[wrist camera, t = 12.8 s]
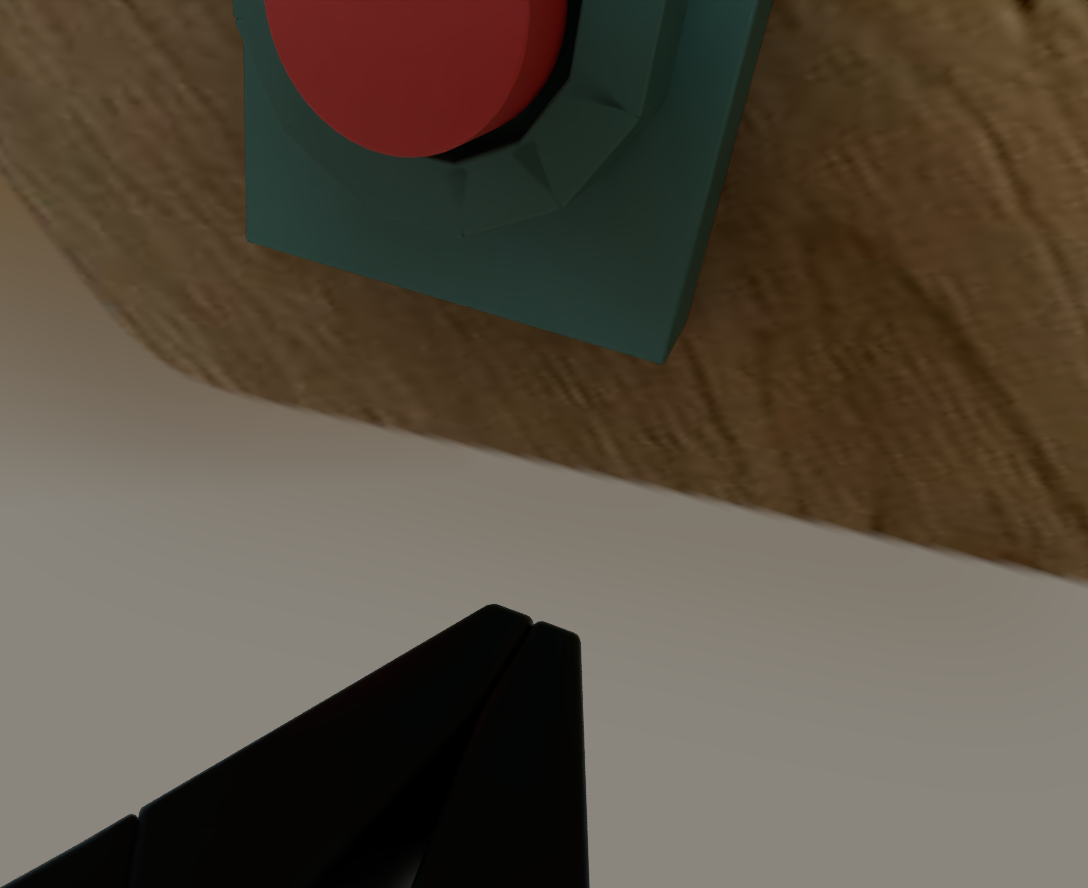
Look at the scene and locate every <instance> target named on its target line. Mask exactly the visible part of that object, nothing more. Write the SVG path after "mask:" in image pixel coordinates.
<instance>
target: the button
mask: <svg viewBox="0 0 1088 888" xmlns="http://www.w3.org/2000/svg"><path fill="white" fill-rule="evenodd" d="M264 2H265V9H266V15H267V20H268V24H269V28H270V32H271V36H272V39H273V42H274V44H275V47H276V50H277V52H278V55H279V58H280V60H281V62H282V64H283V66H284V68H285V70H286V72H287V74H288V76H289V77H290V79H291V81H292V82H293V84H294V86H295V87H296V89H297V91H298V92H299V93H300V95H301V96H302V97H303V98H304V100H305V101H306V102H307V104H308V105H309V106H310V107H311V108H312V109H313V110H314V112H315V113H316V114H317V115H318V116H319V117H320V118H321V119H322V120H323V121H325V122H326V123H327V124H328V125H329V126H330V127H332V128H333V129H334V130H335V131H337V132H338V133H340V134H341V135H343V136H344V137H346V138H347V139H349V140H350V141H352V142H354V143H356V144H358V145H360V146H362V147H364V148H366V149H369V150H372V151H375V152H378V153H381V154H385V155H390V156H396V157H409V158H416V157H426V156H432V155H436V154H440V153H444V152H447V151H449V150H451V149H454V148H456V147H458V146H460V145H463V144H465V143H467V142H469V141H471V140H473V139H475V138H477V137H479V136H482V135H484V134H486V133H488V132H490V131H492V130H494V129H496V128H498V127H501V126H502V125H504V124H506V123H507V122H509V121H510V120H512V119H513V118H515V117H516V116H517V115H518V114H520V113H521V112H522V111H523V110H524V109H525V108H527V107H528V105H529V104H530V103H531V102H532V101H533V100H534V99H535V98H536V96H537V95H538V94H539V92H540V91H541V89H542V88H543V86H544V85H545V83H546V82H547V80H548V78H549V76H550V74H551V72H552V70H553V68H554V66H555V64H556V61H557V59H558V56H559V53H560V50H561V47H562V43H563V38H564V34H565V29H566V21H567V11H568V0H264Z"/></svg>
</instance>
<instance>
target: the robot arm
mask: <svg viewBox="0 0 1088 888" xmlns="http://www.w3.org/2000/svg"><path fill="white" fill-rule="evenodd" d="M581 667H582V665H581V642H580V639H579V637H578V635H577V634H575V633H573V632H570V631H568V630H565V629H562V628H560V627H557V626H554V625H552V624H549V623H546V622H542V621H541V622H537V623H536V624H533V621H532V619H531V618H530V617H529V616H527V615H525V614H522V613H519V612H516V611H514V610H511V609H508V608H506V607H503V606H500V605H497V604H491V605H487V606H485V607H483V608H481V609H480V610H478V611H476V612H474V613H473V614H471V615H469V616H468V617H466V618H464V619H463V620H461V621H459V622H457V623H456V624H454V625H452V626H451V627H449V628H447V629H446V630H444V631H442V632H440V633H439V634H437V635H435V636H434V637H432V638H430V639H428V640H427V641H425V642H423V643H422V644H420V645H418V646H417V647H415V648H413V649H411V650H410V651H408V652H406V653H405V654H403V655H401V656H399V657H398V658H396V659H394V660H393V661H391V662H389V663H387V664H386V665H384V666H383V667H381V668H379V669H377V670H376V671H374V672H372V673H370V674H369V675H367V676H365V677H364V678H362V679H360V680H359V681H357V682H355V683H354V684H352V685H350V686H348V687H347V688H345V689H343V690H341V691H340V692H338V693H337V694H335V695H333V696H331V697H330V698H328V699H326V700H324V701H323V702H321V703H319V704H318V705H316V706H314V707H312V708H311V709H309V710H307V711H306V712H304V713H302V714H301V715H299V716H297V717H295V718H294V719H292V720H290V721H289V722H287V723H285V724H284V725H282V726H280V727H278V728H277V729H275V730H273V731H272V732H270V733H268V734H267V735H265V736H263V737H261V738H260V739H258V740H256V741H255V742H253V743H251V744H249V745H248V746H246V747H244V748H243V749H241V750H239V751H237V752H236V753H234V754H232V755H231V756H229V757H227V758H226V759H224V760H222V761H220V762H219V763H217V764H215V765H214V766H212V767H210V768H208V769H207V770H205V771H203V772H202V773H200V774H198V775H197V776H195V777H193V778H191V779H190V780H188V781H186V782H185V783H183V784H181V785H180V786H178V787H176V788H175V789H173V790H171V791H169V792H168V793H166V794H164V795H162V796H161V797H160V798H157V799H156V800H154V801H152V802H151V803H149V804H147V805H145V806H144V807H142V808H141V810H140V812H139V817H137V816H136V815H133V814H130V815H127V816H126V817H124V818H122V819H121V820H119V821H117V822H116V823H114V824H112V825H111V826H109V827H107V828H105V829H104V830H102V831H100V832H99V833H97V834H95V835H93V836H92V837H90V838H88V839H87V840H85V841H84V842H82V843H80V844H78V845H76V846H74V847H72V848H71V849H69V850H67V851H65V852H64V853H62V854H60V855H59V856H57V857H55V858H53V859H51V860H49V861H47V862H46V863H44V864H42V865H40V866H39V867H37V868H35V869H33V870H31V871H29V872H28V873H26V874H24V875H22V876H20V877H19V878H17V879H15V880H13V881H11V882H10V883H8V884H6V885H5V886H2V887H1V888H589V861H588V834H587V806H586V777H585V750H584V722H583V694H582V668H581Z"/></svg>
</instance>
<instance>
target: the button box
mask: <svg viewBox="0 0 1088 888" xmlns="http://www.w3.org/2000/svg"><path fill="white" fill-rule="evenodd" d="M772 2H773V0H568V11H567V21H566V29H565V34H564V38H563V43H562V47H561V50H560V53H559V56H558V59H557V61H556V64H555V66H554V68H553V70H552V72H551V74H550V76H549V78H548V80H547V82H546V83H545V85H544V86H543V88H542V89H541V91H540V92H539V94H538V95H537V96H536V98H535V99H534V100H533V101H532V102H531V103H530V104H529V105H528V107H527V108H525V109H524V110H523V111H522V112H521V113H520V114H518V115H517V116H516V117H515V118H513V119H512V120H510V121H509V122H507V123H506V124H504V125H502V126H501V127H498V128H496V129H494V130H492V131H490V132H488V133H486V134H484V135H482V136H479V137H477V138H475V139H473V140H471V141H469V142H467V143H465V144H463V145H460V146H458V147H456V148H454V149H451V150H449V151H447V152H444V153H440V154H436V155H432V156H426V157H416V158H409V157H396V156H390V155H385V154H381V153H378V152H375V151H372V150H369V149H366V148H364V147H362V146H360V145H358V144H356V143H354V142H352V141H350V140H349V139H347V138H346V137H344V136H343V135H341V134H340V133H338V132H337V131H335V130H334V129H333V128H332V127H330V126H329V125H328V124H327V123H326V122H325V121H323V120H322V119H321V118H320V117H319V116H318V115H317V114H316V113H315V112H314V110H313V109H312V108H311V107H310V106H309V105H308V104H307V102H306V101H305V100H304V98H303V97H302V96H301V95H300V93H299V92H298V91H297V89H296V87H295V86H294V84H293V82H292V81H291V79H290V77H289V76H288V74H287V72H286V70H285V68H284V66H283V64H282V62H281V60H280V58H279V55H278V52H277V50H276V47H275V44H274V42H273V39H272V36H271V32H270V28H269V24H268V20H267V15H266V9H265V2H264V0H233V14H234V17H236V18H237V20H236V26H237V28H238V30H239V33H240V35H241V37H242V39H243V42H244V96H245V172H246V239H247V241H248V242H251V243H254V244H257V245H261V246H264V247H267V248H271V249H274V250H278V251H281V252H284V253H288V254H291V255H294V256H298V257H301V258H304V259H308V260H311V261H315V262H318V263H321V264H325V265H328V266H331V267H335V268H338V269H341V270H345V271H348V272H352V273H355V274H358V275H362V276H365V277H368V278H372V279H375V280H378V281H382V282H385V283H389V284H392V285H395V286H399V287H402V288H405V289H409V290H412V291H415V292H419V293H422V294H426V295H429V296H432V297H436V298H439V299H442V300H446V301H449V302H452V303H456V304H459V305H463V306H466V307H469V308H473V309H476V310H479V311H483V312H486V313H489V314H493V315H496V316H500V317H503V318H506V319H510V320H513V321H516V322H520V323H523V324H526V325H530V326H533V327H537V328H540V329H543V330H547V331H550V332H553V333H557V334H560V335H563V336H567V337H570V338H574V339H577V340H580V341H584V342H587V343H590V344H594V345H597V346H600V347H604V348H607V349H611V350H614V351H617V352H621V353H624V354H627V355H631V356H634V357H637V358H641V359H644V360H648V361H651V362H654V363H658V364H663V363H664V362H665V361H666V359H667V357H668V355H669V353H670V351H671V350H672V348H673V346H674V344H675V342H676V340H677V338H678V337H679V335H680V333H681V331H682V329H683V327H684V325H685V323H686V320H687V316H688V313H689V309H690V305H691V302H692V298H693V294H694V290H695V287H696V283H697V279H698V276H699V272H700V268H701V265H702V261H703V257H704V253H705V250H706V246H707V242H708V239H709V235H710V231H711V228H712V224H713V220H714V217H715V213H716V209H717V205H718V202H719V198H720V194H721V191H722V187H723V183H724V180H725V176H726V172H727V169H728V165H729V161H730V157H731V154H732V150H733V146H734V143H735V139H736V135H737V132H738V128H739V124H740V120H741V117H742V113H743V109H744V106H745V102H746V98H747V95H748V91H749V87H750V84H751V80H752V76H753V72H754V69H755V65H756V61H757V58H758V54H759V50H760V47H761V43H762V39H763V35H764V32H765V28H766V24H767V21H768V17H769V13H770V10H771V6H772Z"/></svg>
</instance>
